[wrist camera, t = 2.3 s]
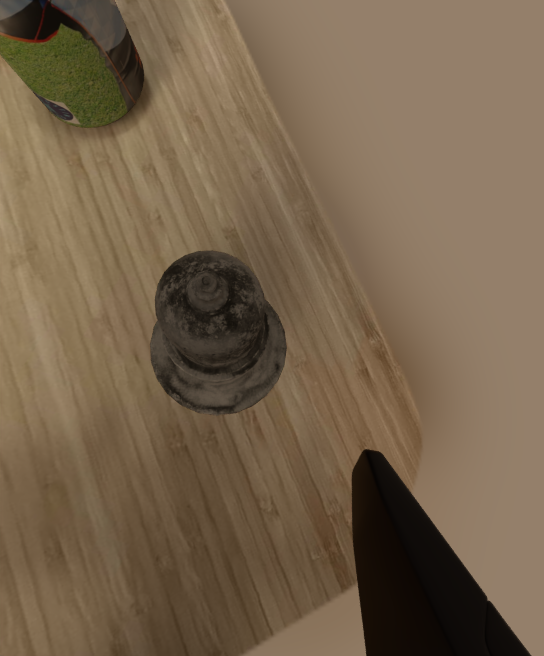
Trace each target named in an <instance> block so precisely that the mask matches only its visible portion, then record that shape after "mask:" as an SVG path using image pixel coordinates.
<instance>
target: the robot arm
mask: <svg viewBox="0 0 544 656" xmlns="http://www.w3.org/2000/svg"><path fill="white" fill-rule="evenodd" d="M352 531H353V547H354V556H355V564H356V573H357V581H358V589H359V597H360V606H361V614H362V622H363V630H364V639H365V646H366V655H367V656H531V655H530V653H529V652H528V651H527V649H526V648H525V647H524V646H523V644H522V643H521V642H520V640H519V639H518V638H517V636H516V635H515V634H514V632H513V631H512V630H511V628H510V627H509V626H508V624H507V623H506V622H505V620H504V619H503V618H502V616H501V615H500V614H499V612H498V611H497V610H496V608H495V607H494V605H493V604H492V603H491V602H490V601H487V596H486V595H485V593H484V592H483V591H482V589H481V588H480V587H479V585H478V584H477V582H476V581H475V580H474V578H473V577H472V576H471V574H470V573H469V571H468V570H467V569H466V567H465V566H464V565H463V563H462V562H461V561H460V559H459V558H458V556H457V555H456V554H455V553H454V551H453V550H452V548H451V547H450V546H449V544H448V543H447V541H446V540H445V539H444V537H443V536H442V535H441V533H440V532H439V530H438V529H437V528H436V526H435V525H434V524H433V522H432V521H431V520H430V518H429V517H428V515H427V514H426V513H425V511H424V510H423V509H422V507H421V506H420V505H419V503H418V502H417V500H416V499H415V498H414V496H413V495H412V494H411V492H410V491H409V489H408V488H407V487H406V485H405V484H404V483H403V481H402V480H401V479H400V477H399V476H398V474H397V473H396V472H395V470H394V469H393V468H392V466H391V465H390V464H389V462H388V461H387V459H386V458H385V457H384V455H383V454H382V453H381V452H379V451H374V450H369V449H365V450H363V452H362V453H361V455H360V457H359V459H358V461H357V463H356V465H355V467H354V469H353V472H352Z"/></svg>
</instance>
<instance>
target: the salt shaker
mask: <svg viewBox="0 0 544 656" xmlns="http://www.w3.org/2000/svg"><path fill="white" fill-rule="evenodd" d="M155 309H156V316H157V319H158V320H157V322H156V324H155V326H154V329H153V334H152V338H151V343H150V349H151V363H152V366H153V369H154V372H155V374H156V377H157V380H158V381H159V382H160V384H161V385H162V387H163V388H164V390H165V391H166V393H167V394H168V395H169V396H171V397H172V398H173V399H174V400H176V401H177V402H178V403H179V404H180V405H182V406H184V407H186V408H189V409H191V410H193V411H195V412H198V413H203V414H210V415H224V414H232V413H237V412H239V411H242V410H244V409H247V408H249V407H251V406H253V405H254V404H256V403H257V402H258V401H260V400H261V399H262V398H264V397H265V396H266V395H267V394H268V393H269V392H270V390H271V389H272V388H273V386H274V385H275V384H276V382H277V381H278V379H279V376H280V374H281V372H282V369H283V367H284V364H285V356H286V349H287V347H286V339H285V331H284V329H283V326H282V324H281V321H280V319H279V316H278V315H277V313H276V312H275V311H274V309H273V308H272V307H271V305H270V304H269V303H268V302H267V301H266V300H265V299H264V293H263V291H262V288H261V286H260V283H259V281H258V279H257V277H256V276H255V275H254V273H253V272H252V271H251V269H250V268H249V267H248V266H247V265H245V264H244V263H243V262H242V261H240V260H239V259H237V258H235V257H233V256H231V255H229V254H226V253H222V252H217V251H197V252H194V253H191V254H188V255H185V256H183V257H182V258H180V259H178V260H177V261H175V262H174V263H173V264H172V265H171V266H170V267H169V268H168V269H167V270H166V271H165V272H164V274H163V276H162V278H161V279H160V281H159V283H158V286H157V291H156V296H155Z"/></svg>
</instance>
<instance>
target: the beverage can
mask: <svg viewBox="0 0 544 656" xmlns="http://www.w3.org/2000/svg"><path fill="white" fill-rule="evenodd" d="M0 55H1V56H2V57H3V58H4V60H5V61H6V62H7V63H8V64H9V65H10V66H11V68H12V69H13V70H14V71H15V72H16V73H17V74H18V76H19V77H20V78H21V79H22V80H23V81H24V82H25V83H26V85H27V86H28V87H29V88H30V89H31V90H32V91H33V93H34V94H35V95H36V96H37V97H38V98H39V99H40V101H41V102H42V103H43V104H44V105H45V106H46V107H47V108H48V110H49V111H50V112H51V113H52V114H53V115H54V116H55V117H57V118H58V119H59V120H61V121H63V122H65V123H67V124H70V125H73V126H76V127H84V128H92V127H99V126H104V125H107V124H109V123H112V122H114V121H116V120H118V119H119V118H121V117H122V116H124V115H125V114H126V113H127V112H128V111H129V110H130V109H131V108H132V107H133V106H134V104H135V103H136V101H137V100H138V98H139V96H140V93H141V91H142V87H143V82H144V70H143V65H142V62H141V59H140V57H139V54H138V52H137V50H136V47H135V45H134V43H133V41H132V38H131V36H130V34H129V32H128V29H127V27H126V25H125V23H124V20H123V18H122V16H121V14H120V11H119V9H118V7H117V5H116V2H115V0H0Z"/></svg>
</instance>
